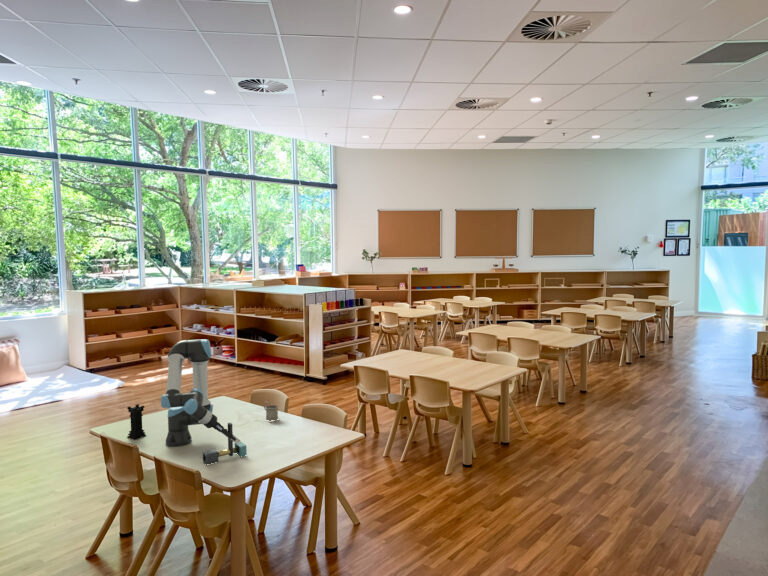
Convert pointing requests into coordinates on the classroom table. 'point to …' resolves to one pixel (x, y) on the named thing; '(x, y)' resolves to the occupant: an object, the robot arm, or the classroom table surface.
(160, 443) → the classroom table surface
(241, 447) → the teal socket block
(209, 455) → the graphite sleeve
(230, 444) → the dark grey post stand
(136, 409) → the chess piece
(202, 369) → the robot arm
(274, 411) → the mug
